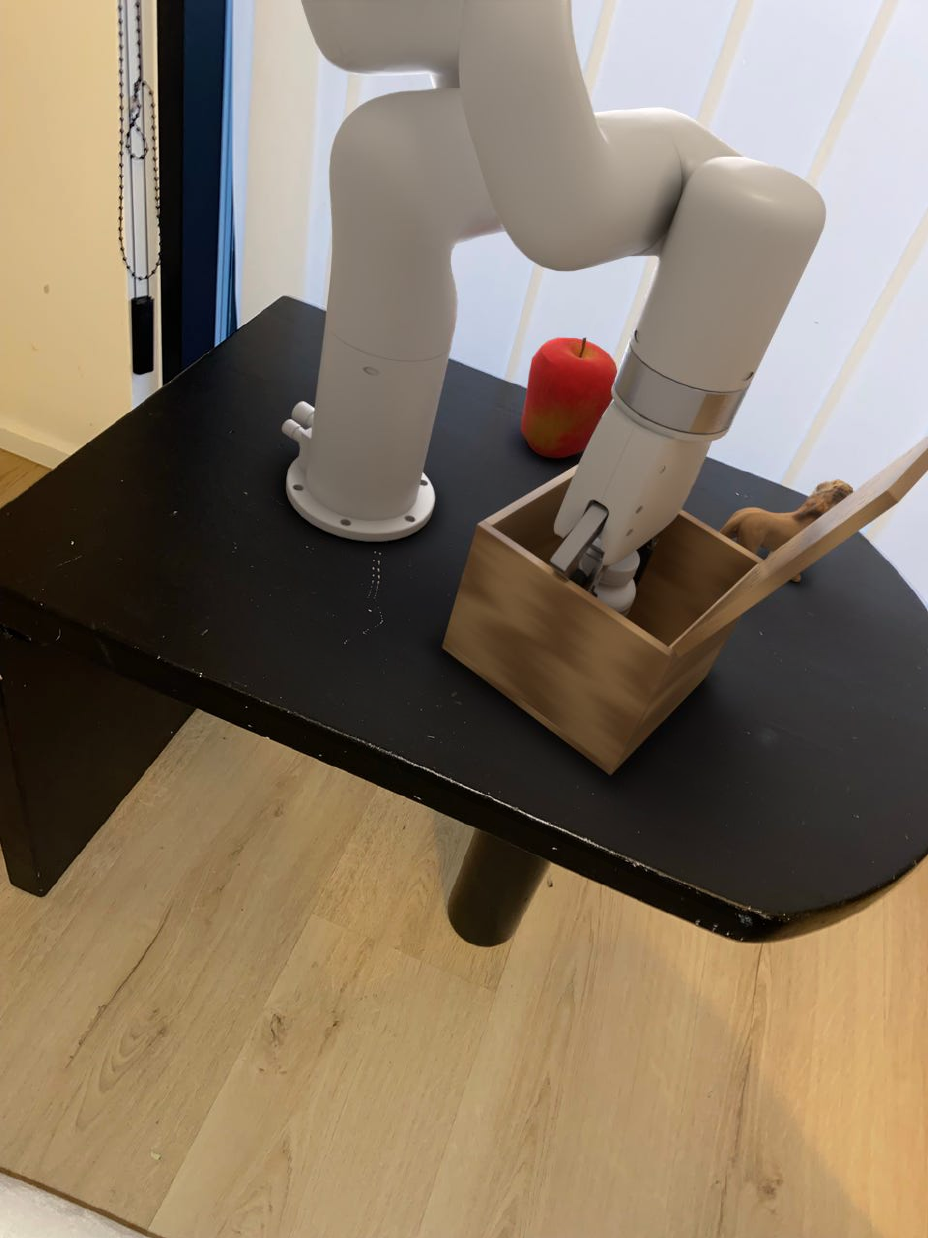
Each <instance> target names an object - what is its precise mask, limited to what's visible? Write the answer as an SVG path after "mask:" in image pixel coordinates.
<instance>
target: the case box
mask: <svg viewBox="0 0 928 1238" xmlns="http://www.w3.org/2000/svg"><path fill="white" fill-rule="evenodd" d="M578 465H579V463H578V464H576V465H574V466H573V467H571V468H570V469H568V470H566V471H563V473H561V474H560V475H557V476H556V477H554V478H552V479H551V480H549V481H547V482H546V483H544V484H542V485H540V486H539V487H537V488H536V489H534V490H532V491H531V492H529V493H527V494H525V495H524V496H522V497H520V498H519V499H517V500H515V501H514V502H512V503H510V504H509V505H507V506H505V507H504V508H501V509H500V510H499V511H497V512H495V513H494V514H492V515H490V516H488V517H487V518H485V519H483V520H481V521H480V522H478V523H477V524H476V527H475V530H474V534H473V537H472V541H471V544H470V548H469V551H468V555H467V559H466V562H465V565H464V568H463V571H462V575H461V578H460V582H459V586H458V590H457V593H456V596H455V600H454V604H453V607H452V611H451V614H450V617H449V621H448V624H447V628H446V631H445V635H444V639H443V642H442V645H441V649H443V650H444V651H446V652H447V653H448V654H449V655H450V656H452V657H454V658H455V659H456V660H457V661H458V662H460V663H461V664H463V665H464V666H465V667H467V668H468V669H469V670H470V671H472V672H473V673H475V674H476V675H477V676H478V677H480V678H481V679H482V680H483V681H485V682H486V683H488V684H489V685H490V686H491V687H493V688H494V689H496V690H497V691H498V692H500V693H501V694H502V695H503V696H505V697H506V698H507V699H509V700H510V701H511V702H513V703H514V704H515V705H516V706H518V707H519V708H520V709H522V710H523V711H524V712H526V713H527V714H528V715H530V716H531V717H532V718H534V719H535V720H536V721H538V723H540V724H542V725H543V726H544V727H546V728H547V729H548V730H549V731H550V732H552V733H553V734H555V735H556V736H558V738H560V739H561V740H563V741H564V742H565V743H567V744H568V745H569V746H571V747H572V748H573V749H574V750H576V751H577V752H578V753H580V754H581V755H582V756H584V757H585V759H587V760H589V761H590V762H592V763H593V764H594V765H596V766H597V767H598V768H600V769H601V770H602V771H603V772H605V773H606V774H607V775H608V776H612V775H613V774H614V772H616V770H618V769H619V768H620V767H621V765H623V763H624V762H625V761H626V760H627V759H628V758H630V756H631V755H632V754H633V753H634V752H635V751H636V750H637V749H638V748H639V747H640V746H641V745H642V744H643V743H644V741H646V740H647V739H648V737H650V736H651V734H652V733H653V732H654V731H655V730H656V729H657V728H658V727H660V725H661V724H662V723H663V722H664V721H665V720H666V719H668V717H669V716H670V715H671V714H672V713H673V712H674V711H675V710H676V709H677V708H678V706H680V705H681V704H682V702H684V700H685V699H686V698H687V697H688V696H689V695H690V694H691V693H692V692H693V691H694V690H695V689H696V688H697V687H698V686H699V685H700V684H701V683H702V682H703V681H704V679H706V678H707V676H708V674H709V672H710V670H711V669H712V668H713V666H714V664H715V663H716V661H717V659H718V657H719V655H720V653H721V652H722V650H723V648H724V646H725V645H726V643H727V642H728V640H729V638H730V636H731V635H732V633H733V631H734V629H735V627H736V626H737V624H738V622H739V621H740V619H741V617H742V615H743V613H742V614H741V615H740V616H738V617H737V618H735V619H734V620H733V621H731V622H730V623H728V624H727V625H726V626H724V627H723V628H721V629H720V630H719V631H717V632H716V633H714V634H713V635H712V636H710V637H709V638H707V639H706V640H705V641H703V642H702V643H700V644H699V645H697V646H696V647H695V648H693V649H692V650H690V651H689V652H688V653H686V654H685V655H683V656H682V657H679V656H678V655H677V654H676V653H675V651H674V650H673V649H672V647H673V646H674V645H675V644H676V643H677V642H678V641H679V640H680V639H681V638H682V637H683V636H684V635H685V634H686V633H687V632H689V631H690V630H691V629H692V628H693V627H694V626H695V625H696V624H697V623H698V622H699V621H700V620H701V619H702V618H703V617H705V616H706V615H707V614H708V613H709V612H710V611H711V610H712V609H713V608H714V607H715V606H716V605H717V604H718V603H719V602H720V601H722V600H723V599H724V598H725V597H726V596H727V595H728V594H729V593H730V592H731V591H732V590H733V589H734V588H735V587H736V586H738V585H739V584H740V583H741V582H742V581H743V580H744V579H745V578H746V577H747V576H748V575H749V574H750V573H751V572H752V571H753V570H755V569H756V568H757V567H758V566H759V565H760V564H761V563H762V562H763V561H764V560H765V559H763V558H761V557H759V556H758V555H756V554H753V553H751V552H750V551H748V550H747V549H745V548H743V547H742V546H740V545H739V544H737V542H735V541H733V539H732V540H730V539H729V538H727V537H726V536H724V535H722V534H721V533H719V531H718V530H716V529H714V528H712V526H710V525H708V524H706V523H705V522H703V521H701V520H700V519H699V518H697V517H695V516H693V515H692V514H690V513H688V512H687V511H685V510H683V508H682V509H681V510H680V512H679V514H678V515H677V516H676V517H675V519H674V520H673V521H672V522H671V523H670V524H669V525H668V526H667V527H665V528H664V529H663V530H662V534H661V538H660V540H659V541H658V543H657V544H656V545H655V546H654V547H653V548H651V547H649V546H648V545H647V548H649V549H651V550H652V551H653V554H652V556H651V558H650V560H649V562H648V565H647V567H646V569H645V571H644V573H643V575H642V578H641V580H640V582H639V584H638V586H637V588H636V594H635V598H634V601H633V603H632V606H631V608H630V610H629V612H628V614H627V616H626V618H625V617H624V616H622V615H621V614H619V613H618V612H616V611H615V610H614V609H612V608H611V607H609V606H608V605H606V604H605V603H603V602H602V601H600V600H599V599H597V598H596V597H594V596H593V595H592V594H590V593H589V592H587V591H586V590H584V589H583V588H581V587H580V586H578V585H577V584H575V583H574V582H573V581H571V580H569V581H566V580H565V579H563V578H562V577H561V576H559V575H558V574H556V573H555V572H554V571H553V570H552V568H551V566H550V564H549V563H550V560H551V558H552V556H553V555H554V554H555V552H556V551H557V550H558V548H559V547H560V546H561V544H562V543H563V542H564V541H565V539H566V538H567V537H568V535H567V536H566V537H565V538H562V537H561V536H558V535H556V534H555V532H554V523H555V520H556V518H557V515H558V512H559V510H560V507H561V505H562V502H563V500H564V498H565V495H566V493H567V490H568V488H569V486H570V483H571V481H572V478H573V476H574V474H575V472H576V469H577V467H578Z"/></svg>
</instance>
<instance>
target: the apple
mask: <svg viewBox="0 0 928 1238" xmlns="http://www.w3.org/2000/svg"><path fill="white" fill-rule="evenodd" d="M617 372H618V368H617V364H616V362H615V360H614V358H612V355H610V354H609V353H608V352H607V351H605V350H604V349H603V348H602V347H600V346H598V345H597V344H595V343H593V342H591V341H588V340H587V337H582V338H577V337H559V336H558V337H555V338H552V339H549V340H547V341H546V342H544V343H543V344H542V345H541V346H540V347H539V349H538V350H537V351H536V352H535V354H534V355H533V356H532V357H531V362H530V366H529V371H528V378H527V385H526V393H525V400H524V405H523V411H522V415H521V416H522V417H521V420H520V421H521V422H520V431H521V433H522V435H523V437H524V439H525V441H526V442H527V444H528V446H529V448H530V450H532V451H533V452H535V454H537V455H540V456H543V457H545V458H550V459H562V458H568V457H570V456H573V455H575V454H579V453H580V452H582V451H585V449H586V447H587V445H588V443H589V441H590V439H591V437H592V435H593V433H594V431H595V429H596V427H597V425H598V424H599V422H600V420H601V418H602V417H603V415H604V413H605V411H606V410H607V408H608V406H609V405H610V404H611V403H612V402H613V401H614V400H613V397H612V391H611V389H612V386H613V383H614V380H615V378H616V375H617Z"/></svg>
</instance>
